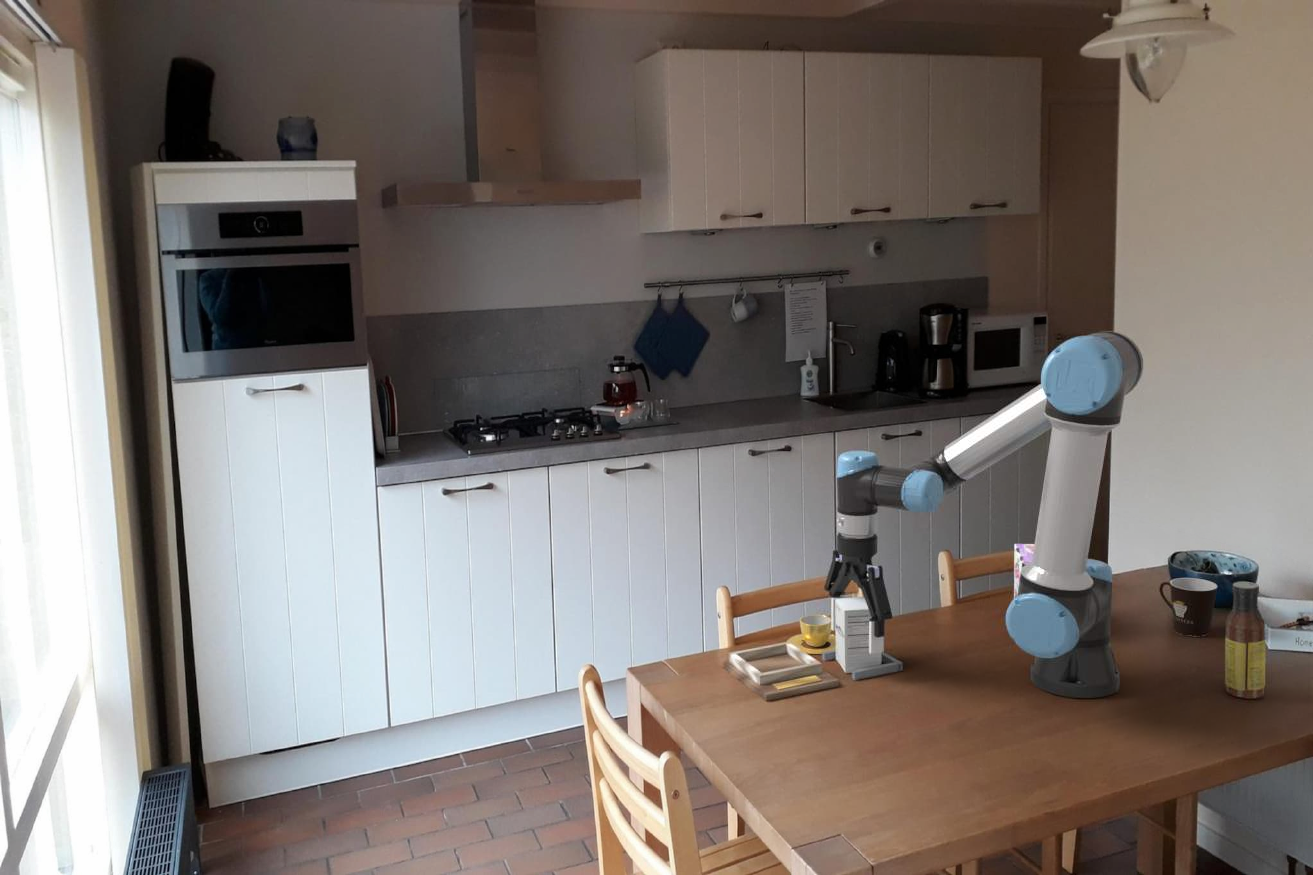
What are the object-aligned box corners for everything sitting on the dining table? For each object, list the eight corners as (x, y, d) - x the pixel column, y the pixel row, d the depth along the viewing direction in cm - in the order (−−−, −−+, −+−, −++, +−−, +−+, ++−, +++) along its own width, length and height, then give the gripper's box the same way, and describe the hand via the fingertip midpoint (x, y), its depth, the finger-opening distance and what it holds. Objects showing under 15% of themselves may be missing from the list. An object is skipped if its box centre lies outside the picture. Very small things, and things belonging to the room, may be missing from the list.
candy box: (1012, 617, 241) (1013, 542, 238) (1041, 617, 239) (1042, 542, 237) (1019, 639, 227) (1021, 561, 224) (1050, 640, 226) (1052, 561, 223)
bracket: (902, 670, 214) (902, 662, 214) (854, 680, 210) (854, 672, 210) (868, 650, 225) (868, 642, 225) (822, 659, 221) (822, 651, 221)
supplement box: (834, 659, 221) (834, 597, 218) (871, 657, 221) (871, 595, 219) (844, 674, 213) (843, 610, 211) (882, 671, 214) (882, 607, 212)
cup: (857, 649, 226) (856, 624, 225) (803, 659, 222) (803, 633, 221) (827, 631, 237) (826, 606, 236) (776, 640, 233) (775, 615, 232)
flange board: (838, 686, 208) (838, 670, 207) (766, 701, 202) (765, 685, 202) (791, 654, 224) (791, 640, 224) (723, 667, 219) (722, 652, 218)
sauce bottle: (1263, 689, 199) (1269, 580, 196) (1265, 702, 193) (1271, 591, 190) (1221, 684, 202) (1227, 577, 198) (1222, 697, 196) (1228, 587, 193)
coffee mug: (1223, 638, 224) (1225, 590, 222) (1179, 640, 224) (1181, 591, 222) (1196, 619, 235) (1198, 572, 233) (1154, 620, 235) (1156, 574, 233)
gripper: (806, 520, 223) (807, 623, 227) (876, 552, 200) (875, 665, 204) (839, 516, 225) (839, 617, 229) (912, 547, 203) (910, 658, 207)
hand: (856, 640), depth 217 cm, fingers open, 13 cm apart
